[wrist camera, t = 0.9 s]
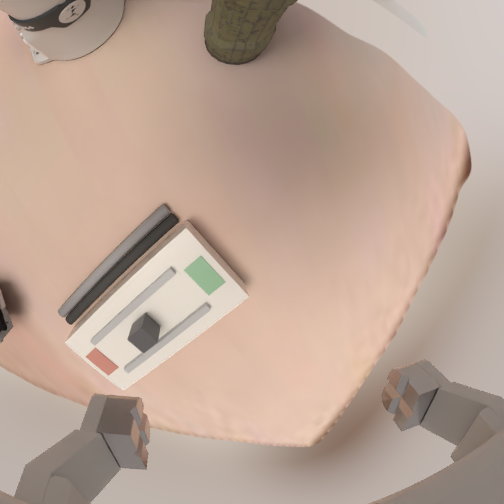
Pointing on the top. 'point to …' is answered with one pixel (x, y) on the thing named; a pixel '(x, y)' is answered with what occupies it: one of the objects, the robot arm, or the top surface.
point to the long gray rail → (122, 265)
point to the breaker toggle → (144, 333)
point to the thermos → (241, 28)
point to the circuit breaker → (4, 319)
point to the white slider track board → (158, 307)
